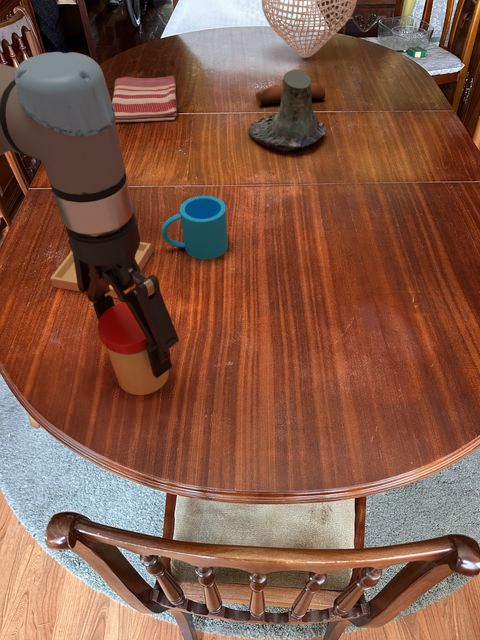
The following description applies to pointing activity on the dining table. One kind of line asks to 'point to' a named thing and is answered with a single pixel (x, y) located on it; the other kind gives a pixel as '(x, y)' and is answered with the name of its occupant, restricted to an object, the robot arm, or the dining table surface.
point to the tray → (67, 273)
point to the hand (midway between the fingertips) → (137, 351)
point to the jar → (136, 373)
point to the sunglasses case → (275, 94)
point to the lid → (121, 330)
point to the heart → (324, 40)
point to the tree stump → (290, 117)
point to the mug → (201, 227)
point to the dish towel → (144, 99)
